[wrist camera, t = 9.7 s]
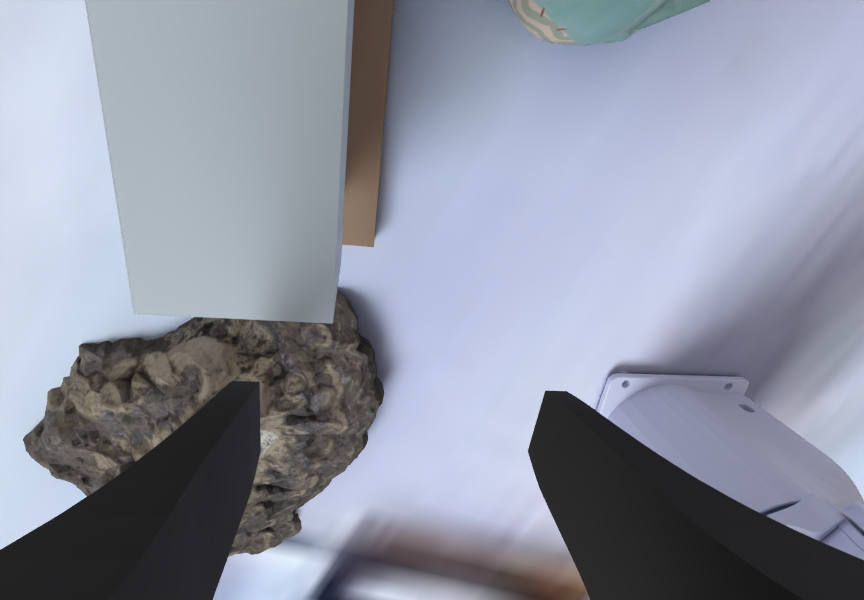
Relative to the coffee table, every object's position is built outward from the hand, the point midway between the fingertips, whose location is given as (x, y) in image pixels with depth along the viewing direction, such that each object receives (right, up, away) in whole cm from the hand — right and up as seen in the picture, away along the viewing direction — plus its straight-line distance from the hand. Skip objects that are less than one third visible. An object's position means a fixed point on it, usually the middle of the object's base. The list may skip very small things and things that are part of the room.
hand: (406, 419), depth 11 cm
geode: (-11, -3, +12) cm, 16 cm away
